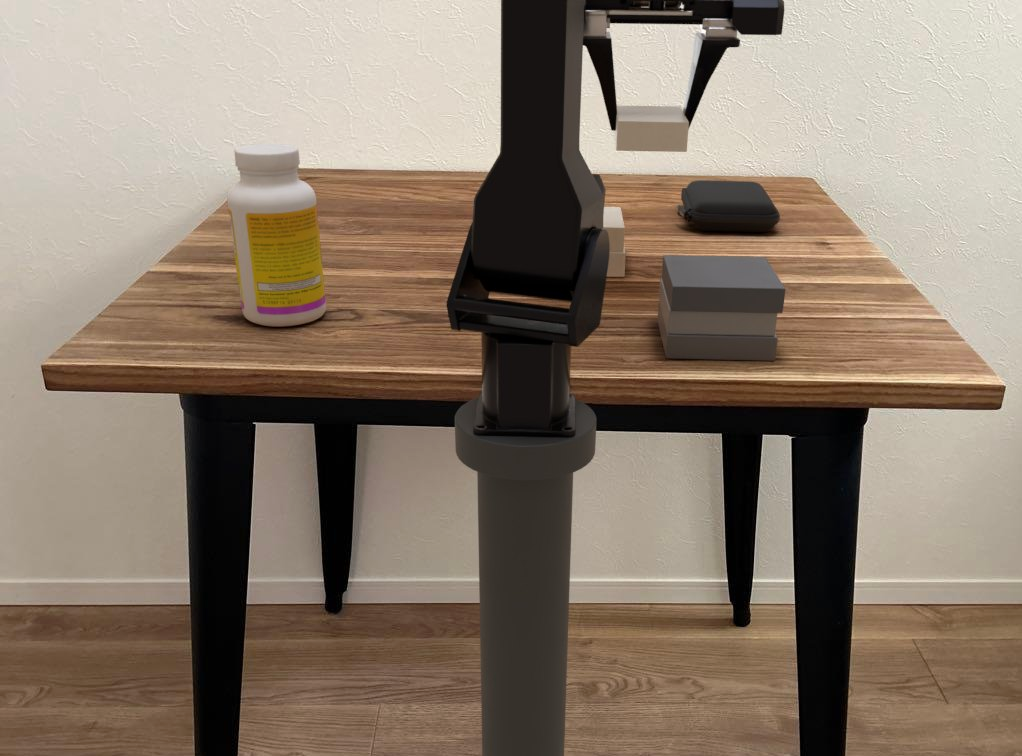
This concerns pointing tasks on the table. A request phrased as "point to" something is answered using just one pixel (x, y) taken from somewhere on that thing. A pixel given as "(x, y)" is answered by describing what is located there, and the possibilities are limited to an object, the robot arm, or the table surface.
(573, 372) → the table surface
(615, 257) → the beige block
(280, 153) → the supplement bottle
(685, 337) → the grey lidded box
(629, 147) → the beige rectangular block
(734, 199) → the carrying case
